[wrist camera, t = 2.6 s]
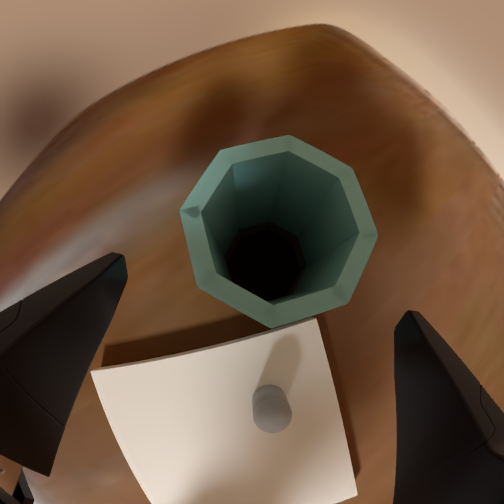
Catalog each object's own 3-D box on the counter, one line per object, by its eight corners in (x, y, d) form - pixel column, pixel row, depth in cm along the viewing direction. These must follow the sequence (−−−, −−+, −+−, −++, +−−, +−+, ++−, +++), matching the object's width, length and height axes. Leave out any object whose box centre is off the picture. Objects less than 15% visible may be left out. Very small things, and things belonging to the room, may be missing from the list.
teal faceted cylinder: (317, 295, 18) (393, 286, 8) (232, 320, 17) (213, 344, 7) (292, 214, 19) (333, 127, 9) (209, 236, 18) (170, 164, 8)
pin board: (351, 485, 15) (373, 519, 10) (173, 519, 14) (159, 555, 9) (310, 317, 17) (334, 322, 12) (100, 367, 16) (61, 382, 11)
